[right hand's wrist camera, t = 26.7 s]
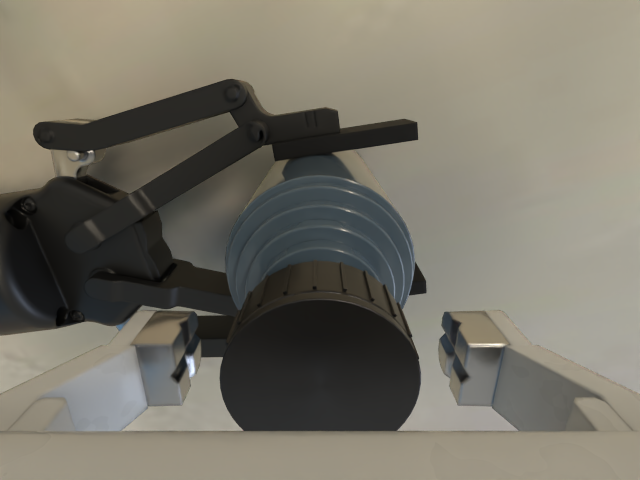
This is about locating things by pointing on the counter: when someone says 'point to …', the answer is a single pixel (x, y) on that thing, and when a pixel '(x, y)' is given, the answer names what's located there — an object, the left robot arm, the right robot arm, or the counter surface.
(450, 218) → the counter surface
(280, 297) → the cap
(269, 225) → the bottle
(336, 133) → the left robot arm
